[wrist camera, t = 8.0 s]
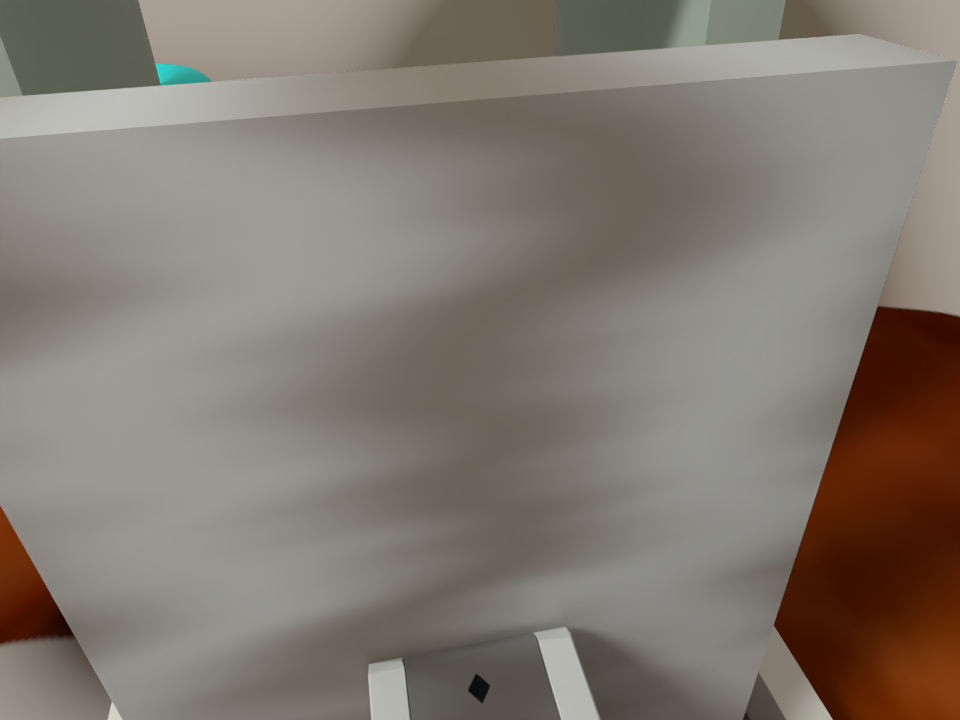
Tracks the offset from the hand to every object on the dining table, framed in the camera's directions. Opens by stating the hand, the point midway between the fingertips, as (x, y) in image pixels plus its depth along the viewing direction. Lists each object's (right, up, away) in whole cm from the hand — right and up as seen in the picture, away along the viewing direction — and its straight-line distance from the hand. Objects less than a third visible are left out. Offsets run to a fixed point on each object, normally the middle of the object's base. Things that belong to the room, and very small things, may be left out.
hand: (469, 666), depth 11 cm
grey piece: (-2, +1, +12) cm, 12 cm away
